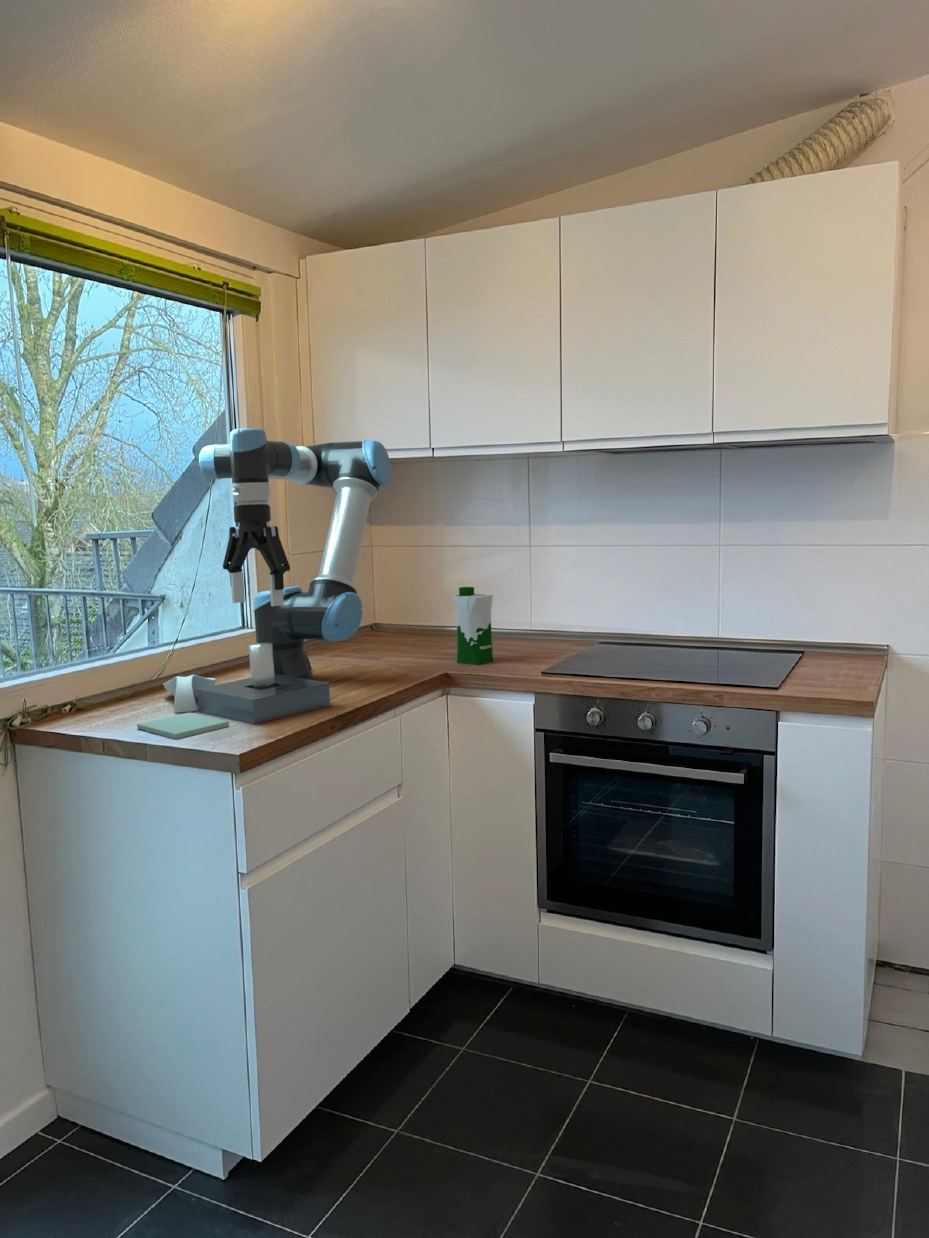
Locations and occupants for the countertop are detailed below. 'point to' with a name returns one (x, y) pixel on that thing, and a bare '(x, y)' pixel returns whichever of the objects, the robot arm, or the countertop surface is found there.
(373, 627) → the countertop surface
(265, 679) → the grey tall block
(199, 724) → the mat
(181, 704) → the white curved piece
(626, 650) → the countertop surface
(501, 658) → the countertop surface
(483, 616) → the milk carton
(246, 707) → the housing
